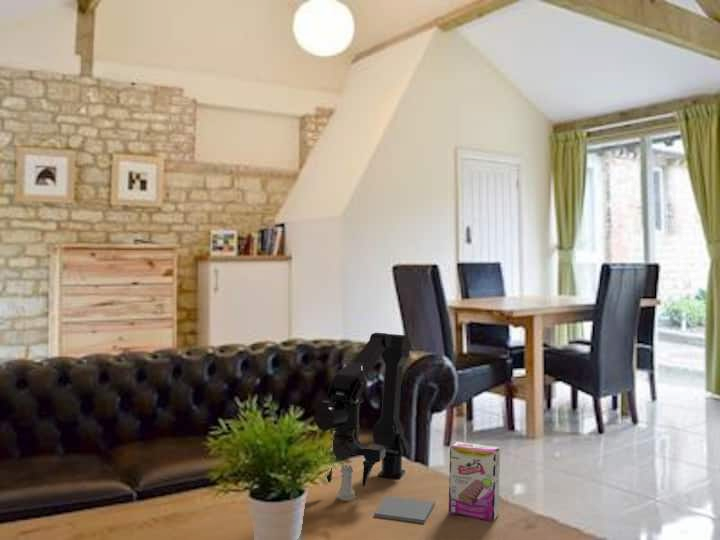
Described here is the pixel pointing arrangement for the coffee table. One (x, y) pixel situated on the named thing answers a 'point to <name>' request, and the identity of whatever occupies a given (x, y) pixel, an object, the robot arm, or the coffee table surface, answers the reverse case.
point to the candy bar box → (474, 481)
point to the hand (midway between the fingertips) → (346, 484)
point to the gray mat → (405, 509)
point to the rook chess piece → (346, 484)
